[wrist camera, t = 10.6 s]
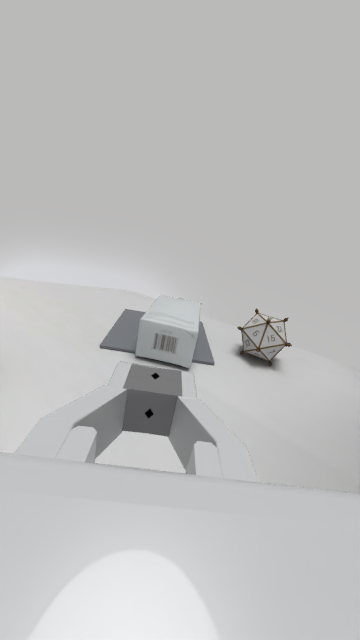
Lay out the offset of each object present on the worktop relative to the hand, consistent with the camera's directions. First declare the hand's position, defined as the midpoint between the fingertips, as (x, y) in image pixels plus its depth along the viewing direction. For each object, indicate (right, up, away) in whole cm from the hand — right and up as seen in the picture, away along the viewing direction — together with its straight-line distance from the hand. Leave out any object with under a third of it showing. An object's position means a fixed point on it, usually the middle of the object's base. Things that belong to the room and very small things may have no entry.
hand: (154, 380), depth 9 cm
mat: (-2, 0, +31) cm, 31 cm away
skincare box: (-1, -1, +20) cm, 20 cm away
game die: (+14, -4, +30) cm, 33 cm away
